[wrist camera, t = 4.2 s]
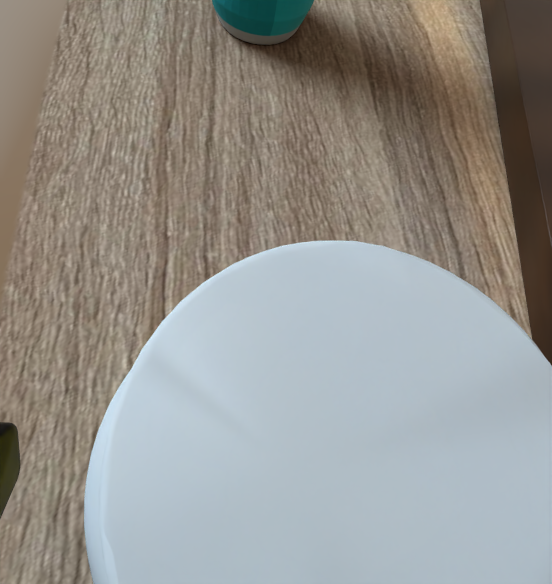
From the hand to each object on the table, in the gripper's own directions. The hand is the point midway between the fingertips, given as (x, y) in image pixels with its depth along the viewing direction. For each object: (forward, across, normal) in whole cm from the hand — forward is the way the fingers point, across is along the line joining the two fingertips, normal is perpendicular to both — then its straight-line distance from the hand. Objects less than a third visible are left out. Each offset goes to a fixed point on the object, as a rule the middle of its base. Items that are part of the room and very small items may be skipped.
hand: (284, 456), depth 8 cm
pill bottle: (+5, 0, +6) cm, 8 cm away
